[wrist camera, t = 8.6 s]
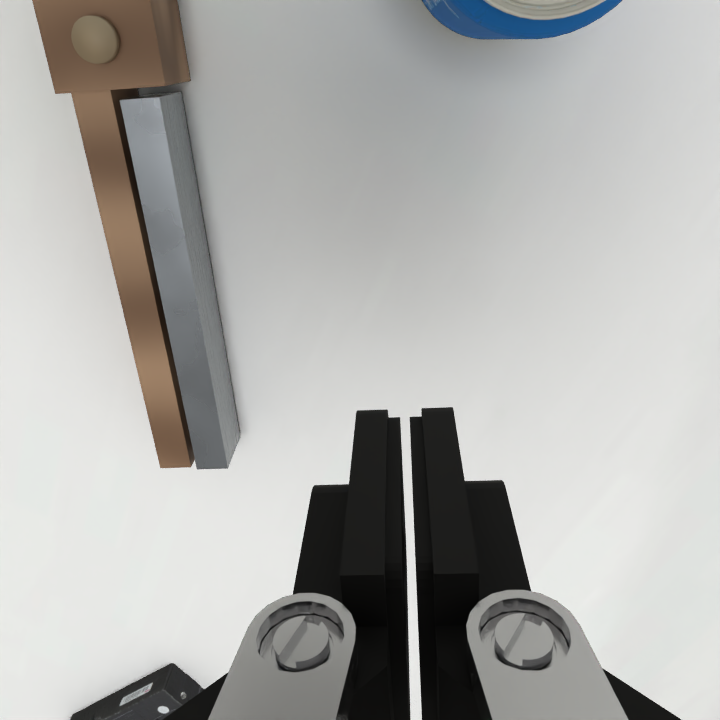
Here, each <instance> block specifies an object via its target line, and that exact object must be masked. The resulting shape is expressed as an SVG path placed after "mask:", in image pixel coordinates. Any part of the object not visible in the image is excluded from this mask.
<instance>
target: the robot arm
mask: <svg viewBox="0 0 720 720" xmlns="http://www.w3.org/2000/svg"><path fill="white" fill-rule="evenodd" d="M410 433H411V458H412V483H413V508H414V532H415V557H416V582H417V606H418V631H419V655H420V680H421V705H422V720H681V719H680V718H678V717H676V716H675V715H673V714H672V713H670V712H669V711H667V710H666V709H664V708H663V707H661V706H660V705H658V704H656V703H655V702H653V701H652V700H650V699H649V698H647V697H646V696H644V695H643V694H641V693H640V692H638V691H636V690H635V689H633V688H632V687H630V686H629V685H627V684H626V683H624V682H623V681H621V680H619V679H618V678H616V677H615V676H613V675H612V674H610V673H609V672H607V671H606V670H604V669H603V668H602V667H601V665H600V663H599V661H598V659H597V657H596V655H595V653H594V652H593V650H592V648H591V646H590V644H589V642H588V640H587V638H586V636H585V634H584V632H583V630H582V628H581V626H580V624H579V623H578V622H577V620H576V619H575V617H574V616H573V615H572V613H571V612H570V611H569V610H568V609H566V608H565V607H564V606H563V605H561V604H560V603H559V602H558V601H556V600H554V599H552V598H549V597H547V596H545V595H543V594H541V593H536V592H532V591H531V589H530V585H529V581H528V577H527V573H526V569H525V565H524V561H523V557H522V552H521V548H520V544H519V540H518V536H517V532H516V528H515V524H514V520H513V516H512V512H511V508H510V504H509V500H508V496H507V492H506V488H505V485H504V482H503V481H502V480H494V481H464V474H463V468H462V462H461V456H460V449H459V443H458V437H457V430H456V424H455V418H454V411H453V408H452V407H448V408H422V417H410ZM163 720H410V688H409V645H408V602H407V559H406V533H405V512H404V491H403V470H402V449H401V428H400V417H395V418H388V410H362V411H357V413H356V421H355V431H354V441H353V451H352V461H351V470H350V480H349V484H346V485H314V487H313V489H312V493H311V498H310V503H309V509H308V514H307V520H306V525H305V531H304V536H303V542H302V547H301V553H300V558H299V564H298V569H297V574H296V580H295V585H294V591H293V595H290V596H286V597H282V598H280V599H278V600H276V601H275V602H273V603H271V604H269V605H267V606H266V607H265V608H264V609H263V610H262V611H260V612H259V613H258V614H257V615H256V616H255V618H254V619H253V621H252V622H251V624H250V625H249V627H248V629H247V631H246V633H245V636H244V638H243V640H242V642H241V645H240V647H239V649H238V652H237V654H236V656H235V659H234V661H233V663H232V666H231V668H230V670H229V672H228V673H227V674H225V675H224V676H223V677H221V678H220V679H218V680H217V681H216V682H214V683H213V684H211V685H210V686H209V687H207V688H206V689H204V690H203V691H202V692H200V693H199V694H197V695H196V696H195V697H193V698H192V699H190V700H189V701H188V702H186V703H185V704H184V705H182V706H181V707H179V708H178V709H177V710H175V711H174V712H172V713H171V714H170V715H168V716H167V717H165V718H164V719H163Z"/></svg>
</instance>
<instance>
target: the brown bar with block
mask: <svg viewBox="0 0 720 720" xmlns="http://www.w3.org/2000/svg"><path fill="white" fill-rule="evenodd" d="M32 1H33V5H34V9H35V13H36V17H37V21H38V25H39V29H40V33H41V37H42V41H43V45H44V49H45V53H46V57H47V61H48V65H49V70H50V74H51V78H52V82H53V86H54V90H55V94H60V93H71V94H72V98H73V103H74V107H75V111H76V115H77V119H78V124H79V128H80V132H81V136H82V140H83V145H84V149H85V153H86V157H87V161H88V166H89V170H90V174H91V178H92V182H93V187H94V191H95V195H96V199H97V203H98V207H99V212H100V216H101V220H102V224H103V228H104V233H105V237H106V241H107V245H108V249H109V254H110V258H111V262H112V266H113V270H114V275H115V279H116V283H117V287H118V291H119V296H120V300H121V304H122V308H123V312H124V317H125V321H126V325H127V329H128V333H129V338H130V342H131V346H132V350H133V354H134V359H135V363H136V367H137V371H138V375H139V380H140V384H141V388H142V392H143V396H144V401H145V405H146V409H147V413H148V417H149V422H150V426H151V430H152V434H153V438H154V443H155V447H156V451H157V455H158V459H159V464H160V468H179V467H191V466H192V464H193V462H194V460H195V457H194V453H193V448H192V443H191V438H190V433H189V429H188V424H187V419H186V414H185V410H184V405H183V400H182V395H181V391H180V386H179V381H178V376H177V372H176V367H175V362H174V357H173V352H172V348H171V343H170V338H169V333H168V329H167V324H166V319H165V314H164V310H163V305H162V300H161V295H160V290H159V286H158V281H157V276H156V271H155V267H154V262H153V257H152V252H151V248H150V243H149V238H148V233H147V228H146V224H145V219H144V214H143V209H142V205H141V200H140V195H139V190H138V186H137V181H136V176H135V171H134V166H133V162H132V157H131V152H130V147H129V143H128V138H127V133H126V128H125V124H124V119H123V114H122V109H121V104H120V100H122V99H126V98H131V97H135V96H139V94H138V89H137V88H144V87H158V86H168V85H173V84H177V83H182V82H187V81H190V74H189V68H188V62H187V56H186V50H185V44H184V38H183V32H182V26H181V20H180V14H179V8H178V2H177V0H32Z"/></svg>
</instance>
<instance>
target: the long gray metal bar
mask: <svg viewBox="0 0 720 720" xmlns="http://www.w3.org/2000/svg"><path fill="white" fill-rule="evenodd" d="M120 104H121V109H122V114H123V119H124V124H125V128H126V133H127V138H128V143H129V147H130V152H131V157H132V162H133V166H134V171H135V176H136V181H137V186H138V190H139V195H140V200H141V205H142V209H143V214H144V219H145V224H146V228H147V233H148V238H149V243H150V248H151V252H152V257H153V262H154V267H155V271H156V276H157V281H158V286H159V290H160V295H161V300H162V305H163V310H164V314H165V319H166V324H167V329H168V333H169V338H170V343H171V348H172V352H173V357H174V362H175V367H176V372H177V376H178V381H179V386H180V391H181V395H182V400H183V405H184V410H185V414H186V419H187V424H188V429H189V433H190V438H191V443H192V448H193V453H194V457H195V462H196V467H197V469H222V468H228V467H229V464H230V461H231V459H232V456H233V454H234V451H235V449H236V446H237V443H238V441H239V438H240V432H239V426H238V421H237V415H236V409H235V403H234V397H233V391H232V386H231V380H230V374H229V368H228V362H227V356H226V351H225V345H224V339H223V333H222V327H221V321H220V316H219V310H218V304H217V298H216V292H215V286H214V280H213V275H212V269H211V263H210V257H209V251H208V245H207V240H206V234H205V228H204V222H203V216H202V210H201V205H200V199H199V193H198V187H197V181H196V175H195V170H194V164H193V158H192V152H191V146H190V140H189V134H188V129H187V123H186V117H185V111H184V105H183V99H182V94H181V92H171V93H157V94H144V95H140V96H135V97H131V98H126V99H122V100H120Z"/></svg>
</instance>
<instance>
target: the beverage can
mask: <svg viewBox="0 0 720 720" xmlns="http://www.w3.org/2000/svg"><path fill="white" fill-rule="evenodd" d="M422 1H423V3H424V4H425V6H426V8H427V9H428V10H429V11H430V12H431V14H432V15H433V16H434V17H435V18H436V19H437V20H438V21H439V22H440V23H442V24H443V25H444V26H446V27H447V28H449V29H450V30H452V31H454V32H456V33H458V34H461V35H464V36H467V37H470V38H477V39H542V38H550V37H556V36H559V35H563V34H567V33H570V32H573V31H575V30H578V29H580V28H582V27H585V26H587V25H588V24H590V23H592V22H594V21H595V20H597V19H599V18H601V17H602V16H603V15H605V14H606V13H607V12H609V11H610V10H612V9H613V8H614V7H616V6H617V5H618V4H619V3H620V2H621V1H622V0H422Z"/></svg>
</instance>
